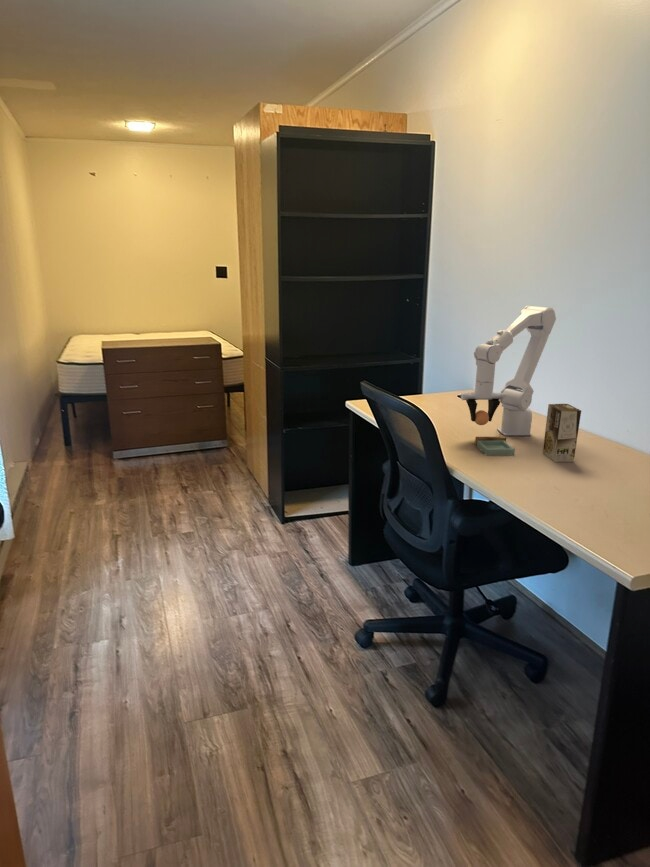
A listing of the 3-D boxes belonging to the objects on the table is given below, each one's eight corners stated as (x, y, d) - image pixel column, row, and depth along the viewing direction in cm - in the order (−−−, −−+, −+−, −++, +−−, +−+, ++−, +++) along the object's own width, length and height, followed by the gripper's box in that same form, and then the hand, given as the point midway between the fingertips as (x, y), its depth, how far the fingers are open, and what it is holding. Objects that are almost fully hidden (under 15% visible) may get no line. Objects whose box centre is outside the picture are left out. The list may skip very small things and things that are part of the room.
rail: (504, 443, 196) (505, 436, 195) (505, 444, 194) (506, 437, 194) (474, 443, 195) (475, 436, 194) (476, 445, 194) (476, 437, 193)
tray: (503, 445, 194) (504, 440, 193) (514, 454, 185) (514, 449, 184) (476, 445, 193) (477, 440, 192) (485, 454, 184) (486, 449, 184)
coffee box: (574, 462, 179) (582, 410, 175) (554, 462, 179) (561, 410, 174) (561, 452, 188) (568, 403, 183) (541, 452, 188) (548, 403, 183)
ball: (485, 422, 201) (487, 408, 199) (490, 427, 196) (492, 412, 195) (471, 422, 201) (472, 408, 199) (475, 427, 196) (477, 412, 194)
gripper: (502, 378, 198) (498, 417, 202) (459, 378, 197) (456, 417, 201) (509, 382, 191) (505, 422, 195) (465, 382, 191) (462, 423, 195)
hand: (481, 420), depth 198 cm, fingers closed on ball, 5 cm apart
